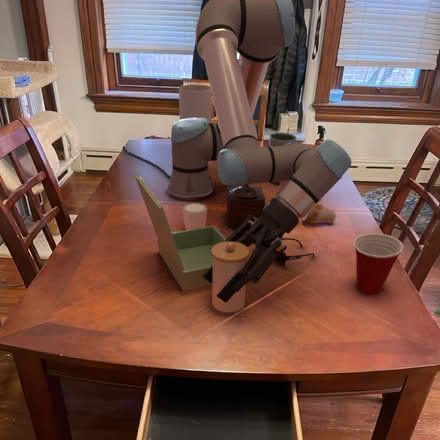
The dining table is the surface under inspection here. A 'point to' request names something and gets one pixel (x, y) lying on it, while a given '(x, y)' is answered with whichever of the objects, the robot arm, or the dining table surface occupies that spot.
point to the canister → (228, 273)
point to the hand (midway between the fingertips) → (214, 289)
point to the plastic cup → (375, 260)
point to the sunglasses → (283, 258)
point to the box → (192, 255)
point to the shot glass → (194, 215)
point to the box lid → (159, 221)
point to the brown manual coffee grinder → (244, 204)
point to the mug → (320, 215)
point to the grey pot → (281, 139)
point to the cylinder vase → (195, 101)
